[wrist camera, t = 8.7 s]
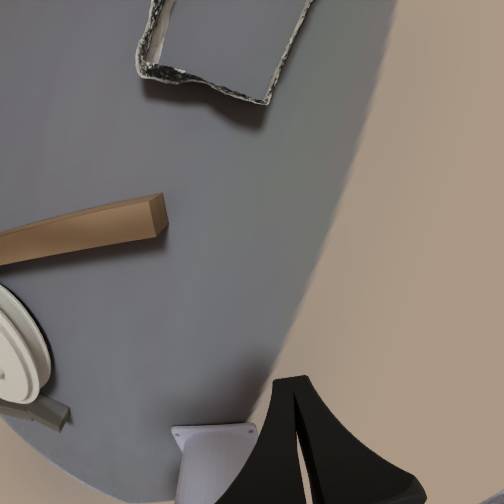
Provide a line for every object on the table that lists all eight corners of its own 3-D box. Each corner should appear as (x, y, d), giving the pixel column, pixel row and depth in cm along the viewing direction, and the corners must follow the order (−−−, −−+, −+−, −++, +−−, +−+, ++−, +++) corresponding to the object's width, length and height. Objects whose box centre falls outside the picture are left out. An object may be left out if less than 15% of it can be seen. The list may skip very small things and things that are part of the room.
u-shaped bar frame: (220, 418, 25) (218, 443, 22) (6, 402, 26) (-4, 417, 23) (162, 192, 19) (148, 201, 16) (-63, 253, 20) (-81, 263, 17)
